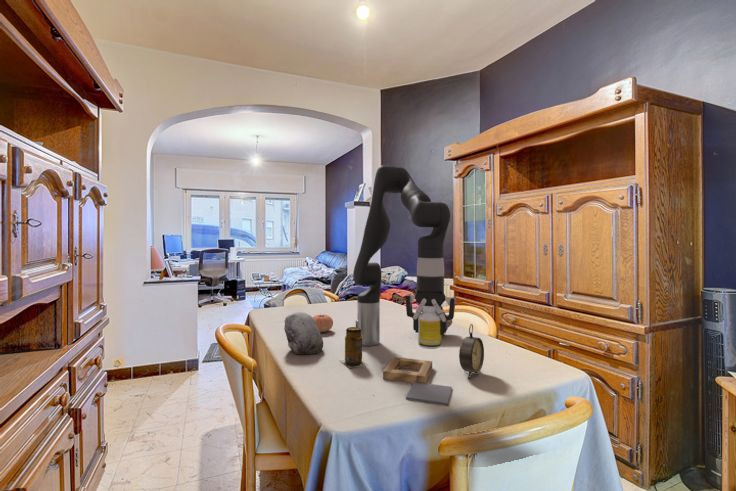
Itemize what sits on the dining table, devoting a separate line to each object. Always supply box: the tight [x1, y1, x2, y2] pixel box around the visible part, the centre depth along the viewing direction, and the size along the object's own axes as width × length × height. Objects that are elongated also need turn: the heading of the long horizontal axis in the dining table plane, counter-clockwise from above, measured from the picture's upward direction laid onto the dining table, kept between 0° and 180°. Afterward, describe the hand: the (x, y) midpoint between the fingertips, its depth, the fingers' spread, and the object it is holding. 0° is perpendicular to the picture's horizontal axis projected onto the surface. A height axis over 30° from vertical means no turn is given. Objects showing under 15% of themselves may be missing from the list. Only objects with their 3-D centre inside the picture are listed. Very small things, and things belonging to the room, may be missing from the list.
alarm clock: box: [458, 323, 485, 380], centre depth 117 cm, size 11×5×16 cm, turn 143°
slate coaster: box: [405, 382, 453, 406], centre depth 103 cm, size 11×11×1 cm
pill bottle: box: [417, 306, 442, 350], centre depth 102 cm, size 6×6×12 cm
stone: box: [283, 311, 324, 355], centre depth 140 cm, size 12×15×15 cm
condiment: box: [340, 326, 369, 369], centre depth 127 cm, size 7×8×12 cm
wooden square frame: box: [382, 356, 433, 384], centre depth 118 cm, size 13×14×2 cm
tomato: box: [311, 313, 334, 334], centre depth 169 cm, size 11×11×8 cm
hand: (429, 333), depth 102 cm, fingers closed on pill bottle, 6 cm apart
